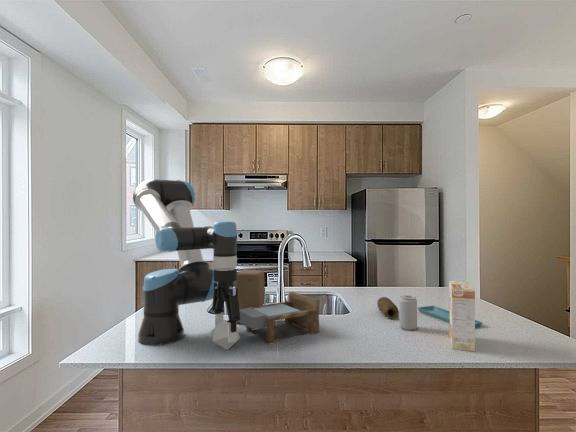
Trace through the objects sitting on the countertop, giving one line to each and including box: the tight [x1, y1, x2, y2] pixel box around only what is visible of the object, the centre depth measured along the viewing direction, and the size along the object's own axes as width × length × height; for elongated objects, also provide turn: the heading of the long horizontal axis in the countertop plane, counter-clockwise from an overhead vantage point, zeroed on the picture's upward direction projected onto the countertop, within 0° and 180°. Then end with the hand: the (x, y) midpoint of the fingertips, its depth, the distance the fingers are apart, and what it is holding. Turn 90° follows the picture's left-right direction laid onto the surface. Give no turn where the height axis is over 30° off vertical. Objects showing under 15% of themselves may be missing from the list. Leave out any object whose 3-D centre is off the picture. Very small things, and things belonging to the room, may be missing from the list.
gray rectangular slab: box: [238, 304, 300, 330], centre depth 132 cm, size 19×12×4 cm, turn 124°
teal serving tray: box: [417, 305, 483, 328], centre depth 151 cm, size 26×9×2 cm, turn 22°
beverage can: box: [398, 294, 418, 331], centre depth 138 cm, size 6×6×12 cm
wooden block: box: [234, 269, 265, 325], centre depth 148 cm, size 10×10×20 cm
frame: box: [245, 291, 320, 345], centre depth 135 cm, size 21×17×12 cm
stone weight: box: [376, 296, 399, 319], centre depth 157 cm, size 15×7×7 cm, turn 3°
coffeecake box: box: [448, 280, 476, 352], centre depth 123 cm, size 15×7×20 cm, turn 159°
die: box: [211, 319, 241, 351], centre depth 120 cm, size 8×9×10 cm
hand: (225, 337), depth 120 cm, fingers closed on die, 9 cm apart
